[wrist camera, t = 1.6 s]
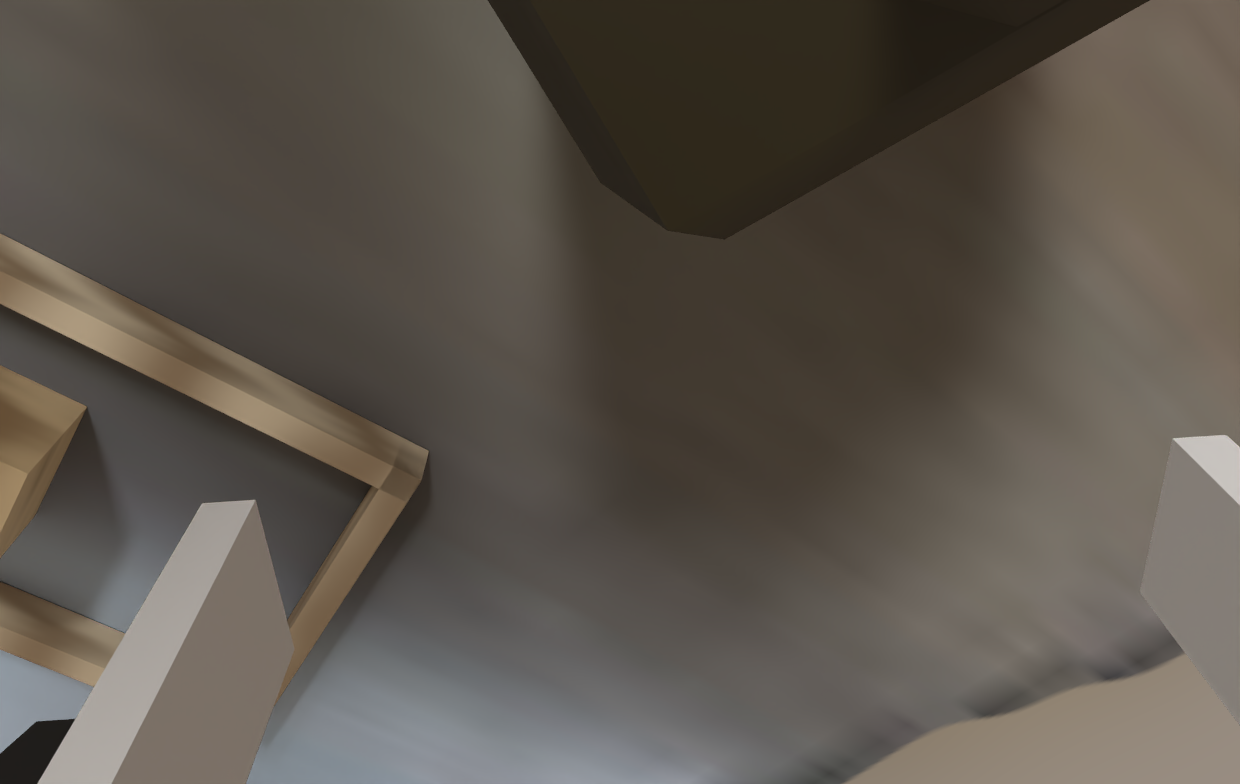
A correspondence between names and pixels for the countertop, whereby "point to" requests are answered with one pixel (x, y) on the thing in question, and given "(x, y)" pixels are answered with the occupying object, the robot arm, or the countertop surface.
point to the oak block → (30, 447)
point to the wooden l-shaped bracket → (231, 389)
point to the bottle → (769, 87)
